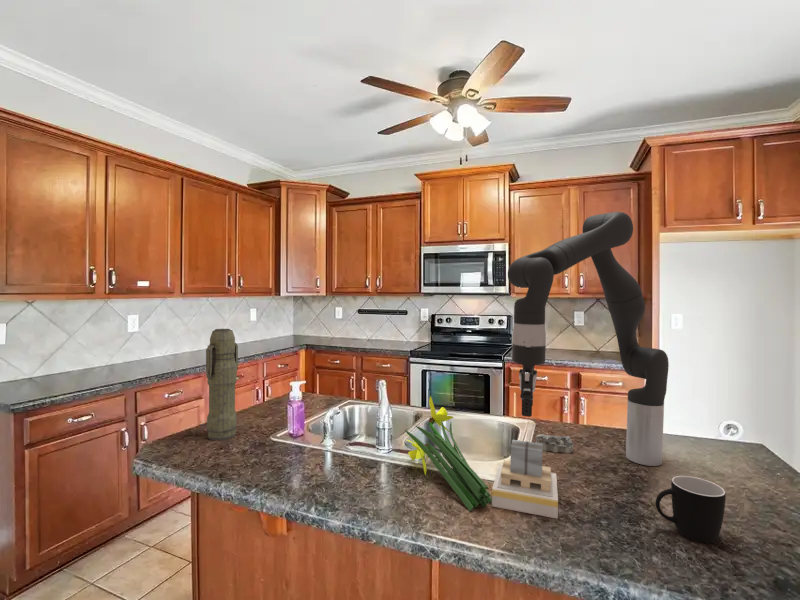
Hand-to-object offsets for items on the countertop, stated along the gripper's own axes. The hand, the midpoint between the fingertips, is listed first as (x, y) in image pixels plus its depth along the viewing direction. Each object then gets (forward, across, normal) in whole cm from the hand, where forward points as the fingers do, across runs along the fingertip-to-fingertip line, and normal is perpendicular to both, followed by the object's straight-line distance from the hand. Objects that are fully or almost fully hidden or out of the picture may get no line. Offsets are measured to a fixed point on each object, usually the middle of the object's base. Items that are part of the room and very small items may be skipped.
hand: (527, 410), depth 97 cm
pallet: (+17, 0, 0) cm, 17 cm away
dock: (+21, 0, 0) cm, 21 cm away
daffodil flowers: (+21, -2, -19) cm, 28 cm away
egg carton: (+22, -36, +7) cm, 42 cm away
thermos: (+21, -6, -96) cm, 98 cm away
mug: (+21, +3, +32) cm, 39 cm away
